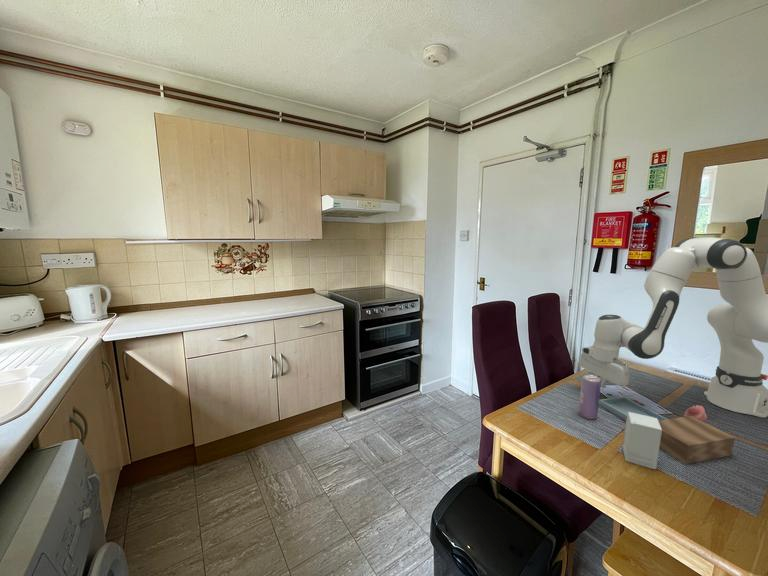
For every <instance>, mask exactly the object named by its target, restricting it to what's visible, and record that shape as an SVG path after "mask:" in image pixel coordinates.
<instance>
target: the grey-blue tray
mask: <svg viewBox="0 0 768 576" xmlns="http://www.w3.org/2000/svg"><path fill="white" fill-rule="evenodd" d="M600 406H601V407H600ZM598 407H600V408H602V409H603V408H604V410H605V411H606V412H608V411H609V412H608V413H610V414H611V415H613V414H614V415H613V416H615V417H617V418H619V419H620V420H622V421H623V420H624V421H623V422H625V423H626V421H627V415H628V412H631V413H636V414H640V415H645V416H650V417H654V418H657V419H658V421H661V420H667V419H668V418H667V417H665V416H662V415H660V414H659V413H657V412H654V411H653V410H651V409H649V408H647V407H646V406H644V405H641V404H640V403H638V402H636V401H634V400H632V399H630V398H628V397H627V396H617V397H611V398H610V397H609V398H604V399H603V398H601V399H599V406H598Z"/></svg>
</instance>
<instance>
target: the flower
mask: <svg viewBox="0 0 768 576" xmlns="http://www.w3.org/2000/svg"><path fill="white" fill-rule="evenodd" d="M705 410H706V409H705V408H704V406H702V405H701V404H700V405H698V404H696V406H695V405H694V404H693V406H692V407H689V408H687V409H686V410H685V412H684V415H682V417H687V416H692V417H694V418H696V419H698V420H700V421H702V422H704V423H706V421H707V418H708V416H707V414H706V411H705Z"/></svg>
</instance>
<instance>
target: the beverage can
mask: <svg viewBox="0 0 768 576" xmlns="http://www.w3.org/2000/svg"><path fill="white" fill-rule="evenodd" d="M600 378H601V377H600ZM600 378H599V377H596V376H595V375H592V374H584V375H582V378H581V386H580V393H579V401H578V402H579V404H578V414H579V416H580V417H582V418H585V419H587V420H595V419H597V418H598V415H599V414H598V413H599V407H600V406H599V400H600V395H601V389H602V387H601V381H602V378H601V379H600Z"/></svg>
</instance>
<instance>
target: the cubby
mask: <svg viewBox="0 0 768 576" xmlns="http://www.w3.org/2000/svg"><path fill="white" fill-rule="evenodd" d="M658 422H659V424H660V426H661V429H662V433H661V440H660V446H659V450H662V451H664V452H665V453H667V454H668V455H670V456H672V457H673V458H675V459H676V460H678V461H680V462H681V463H683V464H685V465H689V464H693V463H698V462H699V463H700V462H704V461H708V460H709V461H710V460H713V459H718V458H719V457H720V458H723V457H724V456H725V457H730V456H732V454H733V449H734V444H735V438H736V437H735V436H733V435H730V434H729V433H727V432H724V431H723V430H720V429H718V428H716V427H714V426H712V425H710V424H708V423H706V422H702V421H700V420H698V419H696V418H694V417H692V416H687V417H685V416H681V417H676V418H667V420H661V421H658ZM720 458H719V459H720Z"/></svg>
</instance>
